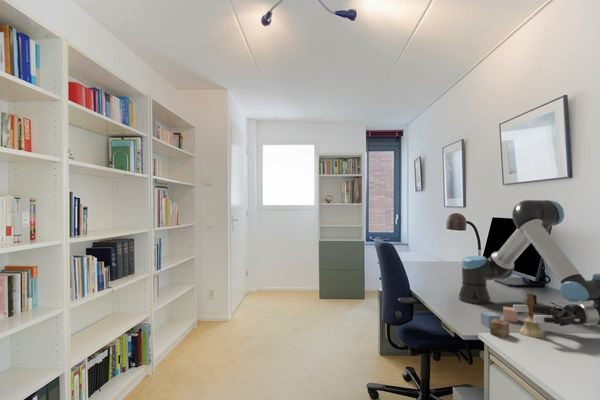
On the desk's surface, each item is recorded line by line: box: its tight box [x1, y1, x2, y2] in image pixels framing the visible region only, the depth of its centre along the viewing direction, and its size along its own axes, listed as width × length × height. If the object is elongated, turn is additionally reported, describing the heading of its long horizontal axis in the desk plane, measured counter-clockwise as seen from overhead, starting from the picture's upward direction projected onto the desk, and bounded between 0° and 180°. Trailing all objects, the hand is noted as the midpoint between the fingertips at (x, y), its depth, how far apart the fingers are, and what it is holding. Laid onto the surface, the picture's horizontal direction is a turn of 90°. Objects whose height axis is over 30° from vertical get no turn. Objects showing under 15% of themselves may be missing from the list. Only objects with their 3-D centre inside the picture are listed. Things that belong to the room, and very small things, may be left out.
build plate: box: [522, 292, 543, 305], centre depth 176 cm, size 12×7×5 cm, turn 170°
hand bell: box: [518, 292, 545, 338], centre depth 131 cm, size 8×8×16 cm
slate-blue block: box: [480, 311, 501, 329], centre depth 140 cm, size 5×5×5 cm
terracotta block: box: [502, 306, 518, 323], centre depth 147 cm, size 5×5×5 cm
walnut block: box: [489, 319, 510, 339], centre depth 130 cm, size 5×5×5 cm
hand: (523, 313), depth 131 cm, fingers open, 13 cm apart
